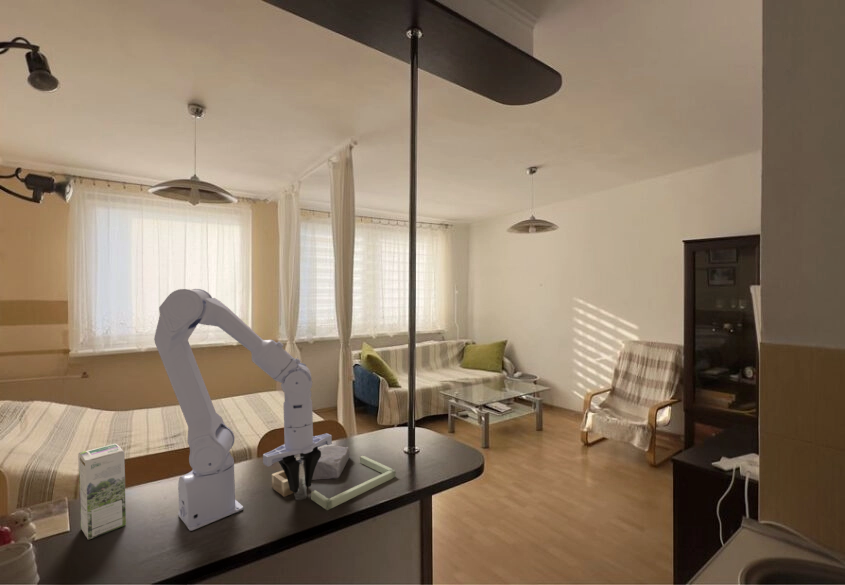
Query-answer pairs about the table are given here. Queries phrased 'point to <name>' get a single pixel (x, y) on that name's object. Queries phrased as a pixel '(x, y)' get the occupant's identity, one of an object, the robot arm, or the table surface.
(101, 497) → the syrup box
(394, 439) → the table surface
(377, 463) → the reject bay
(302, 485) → the cylinder
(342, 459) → the stone block
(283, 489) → the block
